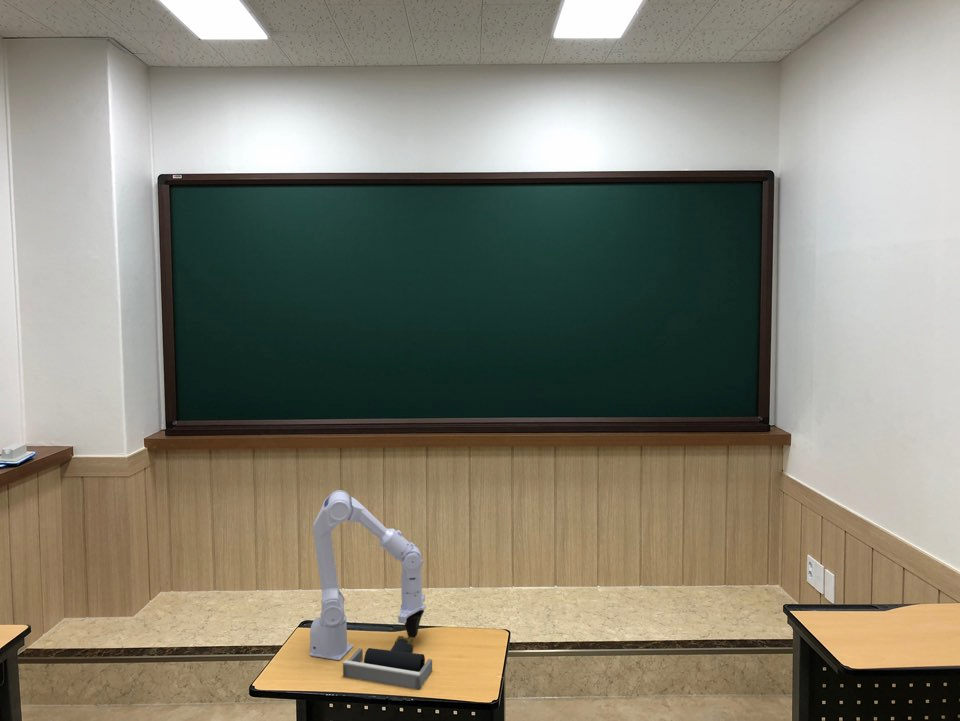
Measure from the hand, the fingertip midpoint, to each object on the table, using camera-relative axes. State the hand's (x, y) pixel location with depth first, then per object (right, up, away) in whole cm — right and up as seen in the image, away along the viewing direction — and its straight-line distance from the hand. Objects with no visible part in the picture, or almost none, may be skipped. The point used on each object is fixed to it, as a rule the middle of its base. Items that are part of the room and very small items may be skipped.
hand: (412, 636), depth 188 cm
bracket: (-5, -3, -15) cm, 17 cm away
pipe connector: (-3, -3, -10) cm, 11 cm away
